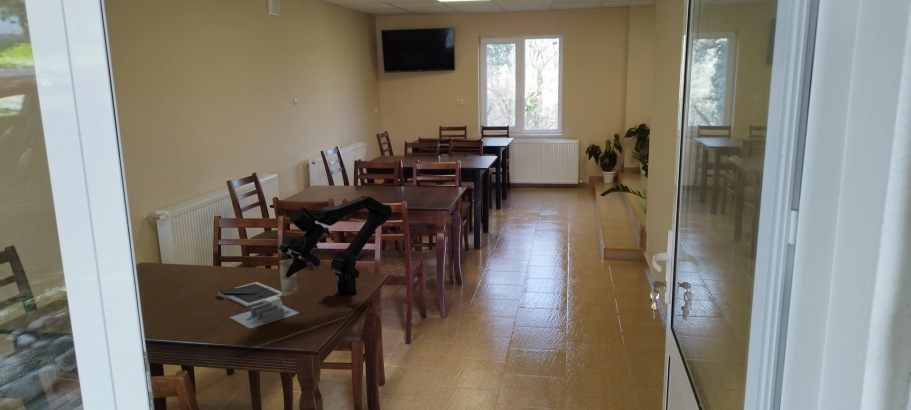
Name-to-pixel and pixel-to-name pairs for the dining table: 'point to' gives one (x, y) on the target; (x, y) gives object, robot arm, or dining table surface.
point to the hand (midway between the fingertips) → (284, 276)
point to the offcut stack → (273, 301)
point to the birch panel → (287, 278)
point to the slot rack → (263, 315)
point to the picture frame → (249, 293)
